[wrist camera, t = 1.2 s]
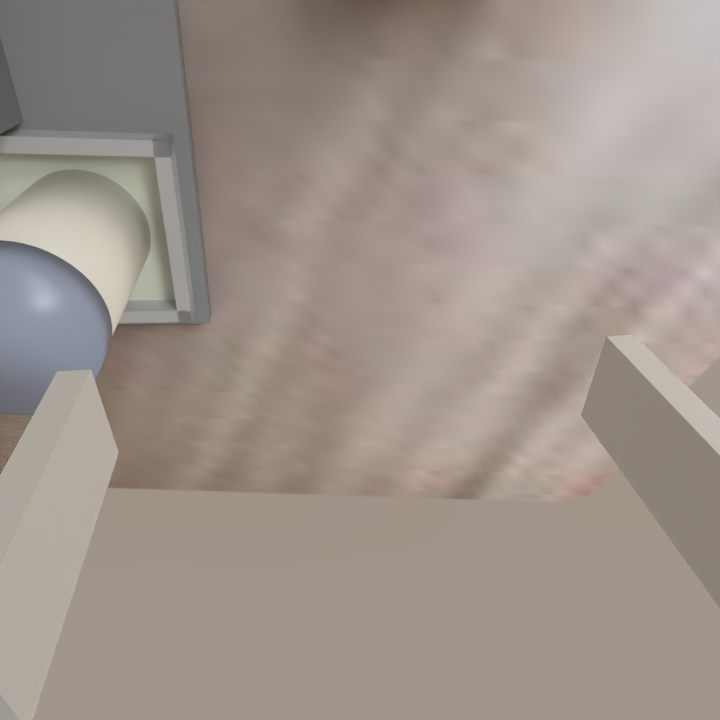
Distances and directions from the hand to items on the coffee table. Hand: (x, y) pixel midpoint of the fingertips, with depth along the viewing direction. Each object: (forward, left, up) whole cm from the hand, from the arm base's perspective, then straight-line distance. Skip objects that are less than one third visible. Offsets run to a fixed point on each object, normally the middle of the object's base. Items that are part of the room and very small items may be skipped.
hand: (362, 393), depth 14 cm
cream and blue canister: (+3, -13, -20) cm, 24 cm away
